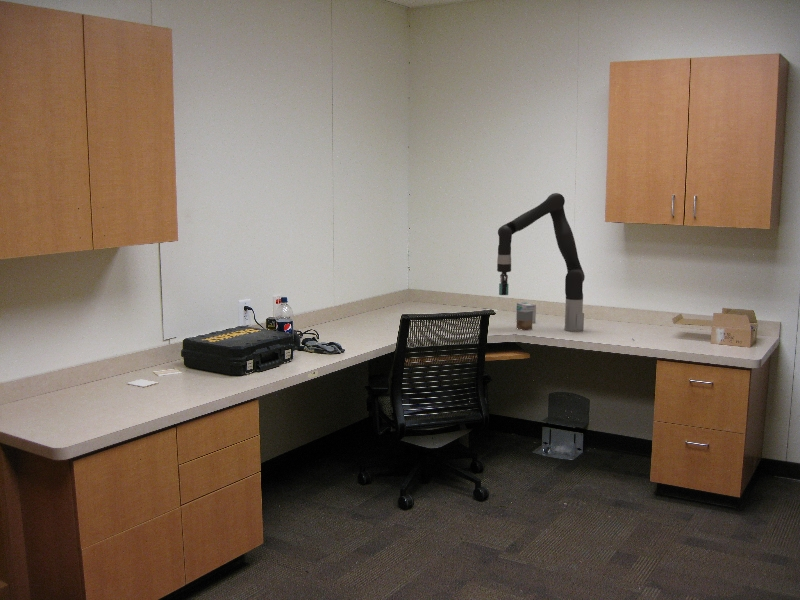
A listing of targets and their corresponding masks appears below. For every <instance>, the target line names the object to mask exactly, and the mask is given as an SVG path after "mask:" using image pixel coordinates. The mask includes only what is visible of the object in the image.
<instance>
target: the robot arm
mask: <svg viewBox="0 0 800 600" xmlns="http://www.w3.org/2000/svg"><path fill="white" fill-rule="evenodd" d="M565 203H566V202H565V197H564V196H563V194H561V193H558V192H554V193H551V194H550V195H548V196H547V198H546V199H545V200H544V201H542V202H541V203H540V204H538V205H537V206H535V207H533V208H531V209H529V210H528V211H526V212H524V213H522V214H521V215H519V216H517V217H516V218H513V220H511V221H509V222H507V223H505V224H503V225H501V226H500V227H499V228H498V229H497V235H498V247H497V258H496V259H497V261H496V263H497V266H496V268H497V269H496V271H497V272H498V273H501V274H500V275H499V277H500V281H499V282H500V283H501V284H502V295H501V296H507V295H506V288H507V283H508V278H509V275H508V274H507V273H510V272H512V239H513V235H514V234H516V233H517V232H520V231H522V230H525V228H527V227H529V226H530V225H532V224H533V223H534V222H537V221H538V220H540V219H541V218H543V217H544V216H546V215H548V214H550V218H551V220H552V225H553V230H554V235H555V240H556V243H557V247H558V250H559V252H560V254H561V256H562V258H563V259H564V262H565V266H566V272H567V273H566V274H565V280H564V281H565V282H564V283H565V285H564V287H565V288H564V294H565V303H564V304H565V306H564V307H565V308H564V309H565V311H564V330H565V331H566V330H567V332H575V331H576V333H578V332H583V331H584V328H585V327H584V326H585V325H584V324H585V313H584V312H583V308H584V294H583V288H584V287H583V285H584V284H583V283H584V281H585V278H586V277H585V276H586V275H585V272H584V269H583V268H582V265H581V263H580V259H579V256H578V249H577V246H576V242H575V241H576V240H575V237H574V234H573V233H574V232H573V230H572V228H571V226H570V224H569V221H568V219H567V216H566V213H565V208H564V206H565ZM503 284H506V285H503ZM508 284H509V283H508Z"/></svg>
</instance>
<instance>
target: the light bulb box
mask: <svg viewBox="0 0 800 600" xmlns="http://www.w3.org/2000/svg"><path fill="white" fill-rule="evenodd" d="M519 310H529V311H533V320H532V324H536V321H537V320H536V318H537V304H534V303H532V302H528V301H527V302H525V301H522V302H516V315H515V316H516V318H515V321H516V320H517V311H519Z"/></svg>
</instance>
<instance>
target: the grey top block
mask: <svg viewBox="0 0 800 600" xmlns="http://www.w3.org/2000/svg"><path fill="white" fill-rule="evenodd" d="M516 313H517V320H520V321H530V320H533V311H529V310H519V311H517V310H516Z"/></svg>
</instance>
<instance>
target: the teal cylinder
mask: <svg viewBox="0 0 800 600" xmlns="http://www.w3.org/2000/svg"><path fill="white" fill-rule="evenodd" d="M503 285H506V284H503ZM498 295H499V296H503V295H502V284H501V282H500V283H499V285H498ZM505 296H509V283H507V288H506V295H505Z"/></svg>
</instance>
